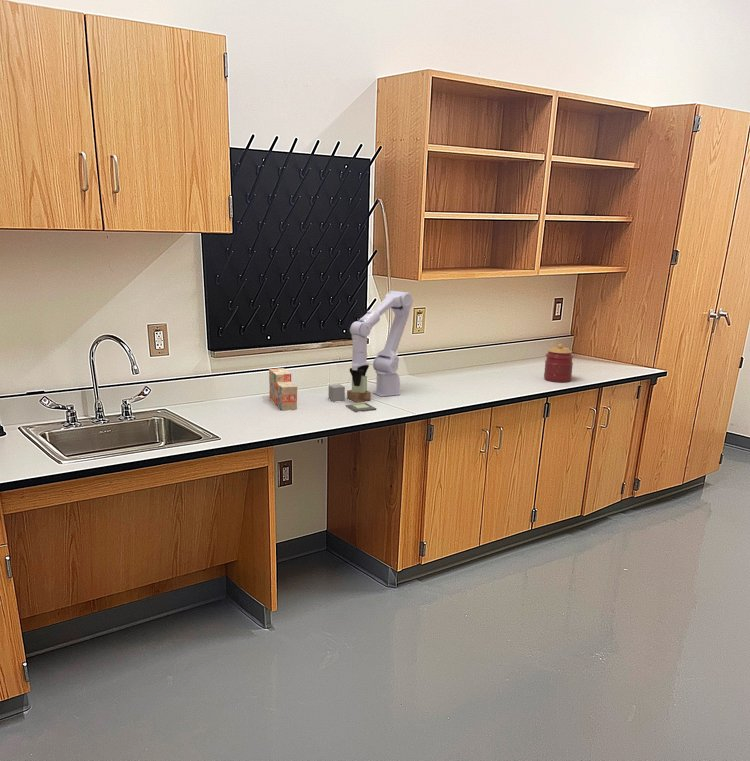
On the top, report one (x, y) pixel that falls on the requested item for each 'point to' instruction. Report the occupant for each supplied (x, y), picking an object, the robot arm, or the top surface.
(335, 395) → the slate grey block
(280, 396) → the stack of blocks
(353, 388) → the sage green block
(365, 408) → the card
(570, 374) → the canister
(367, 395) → the walnut base block
